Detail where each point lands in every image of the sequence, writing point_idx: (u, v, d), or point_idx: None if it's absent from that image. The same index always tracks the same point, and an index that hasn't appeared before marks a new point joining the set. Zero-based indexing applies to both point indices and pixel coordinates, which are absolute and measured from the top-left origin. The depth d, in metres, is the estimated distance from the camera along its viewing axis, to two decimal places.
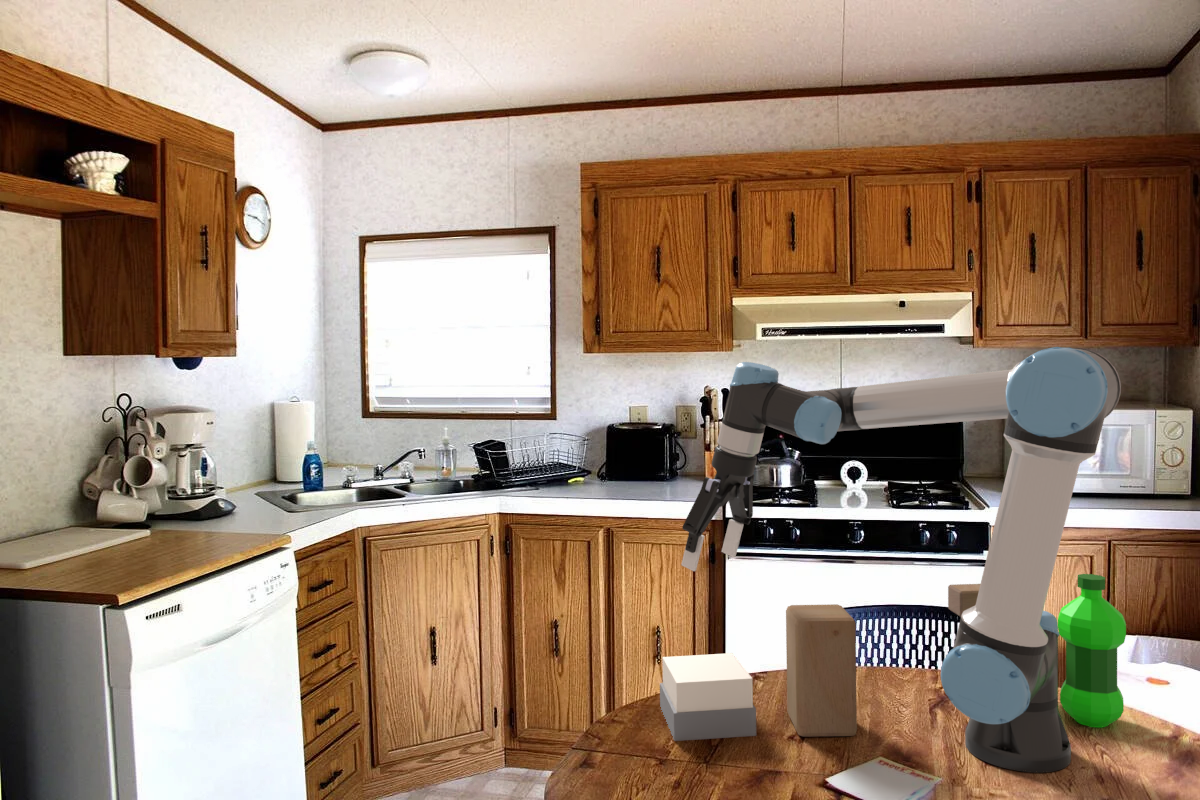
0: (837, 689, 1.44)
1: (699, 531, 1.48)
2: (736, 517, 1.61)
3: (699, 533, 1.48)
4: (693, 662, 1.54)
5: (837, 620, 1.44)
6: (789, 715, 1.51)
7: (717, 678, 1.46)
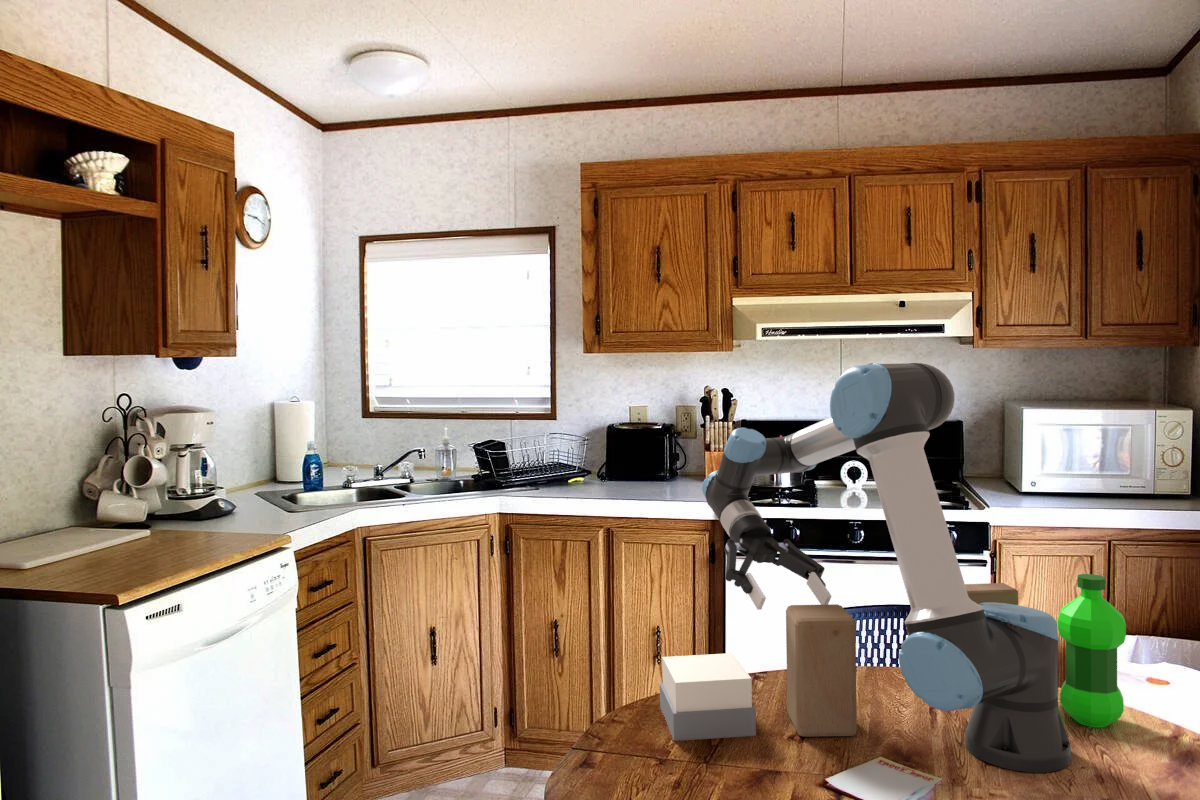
0: (837, 689, 1.44)
1: (739, 570, 1.57)
2: None
3: (740, 571, 1.57)
4: (693, 662, 1.54)
5: (837, 620, 1.44)
6: (789, 715, 1.51)
7: (716, 678, 1.46)
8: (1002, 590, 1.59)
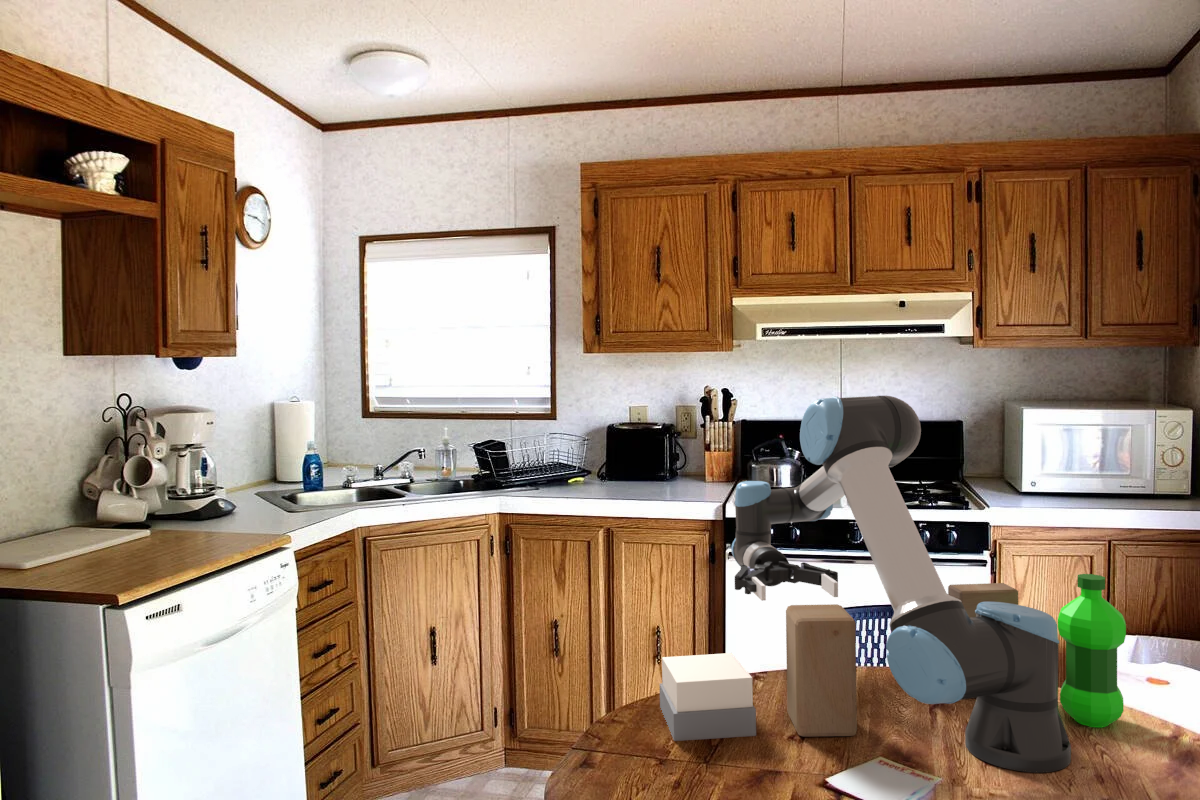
0: (837, 689, 1.44)
1: (745, 577, 1.65)
2: None
3: (745, 577, 1.65)
4: (693, 662, 1.54)
5: (837, 620, 1.44)
6: (789, 715, 1.51)
7: (717, 677, 1.46)
8: (1002, 590, 1.59)
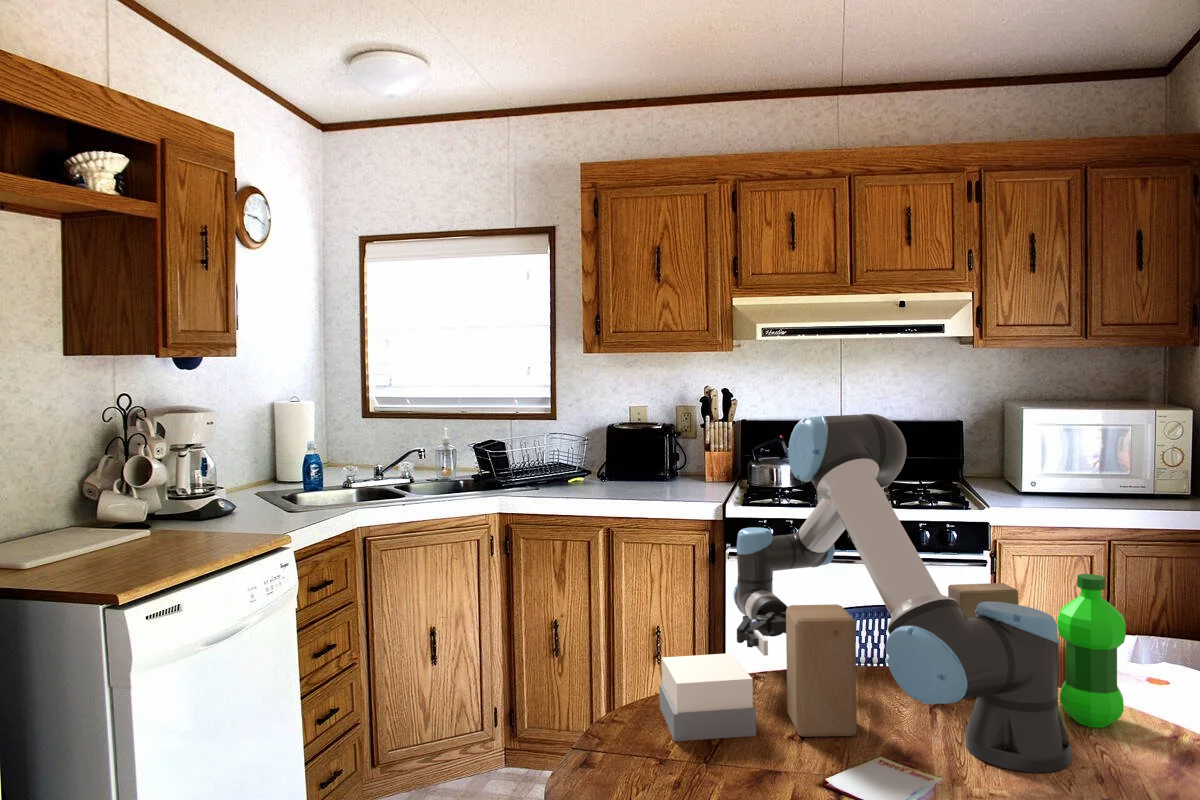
0: (837, 689, 1.44)
1: (747, 630, 1.64)
2: None
3: (747, 630, 1.64)
4: (693, 662, 1.54)
5: (837, 620, 1.44)
6: (789, 715, 1.51)
7: (717, 678, 1.46)
8: (1002, 590, 1.59)
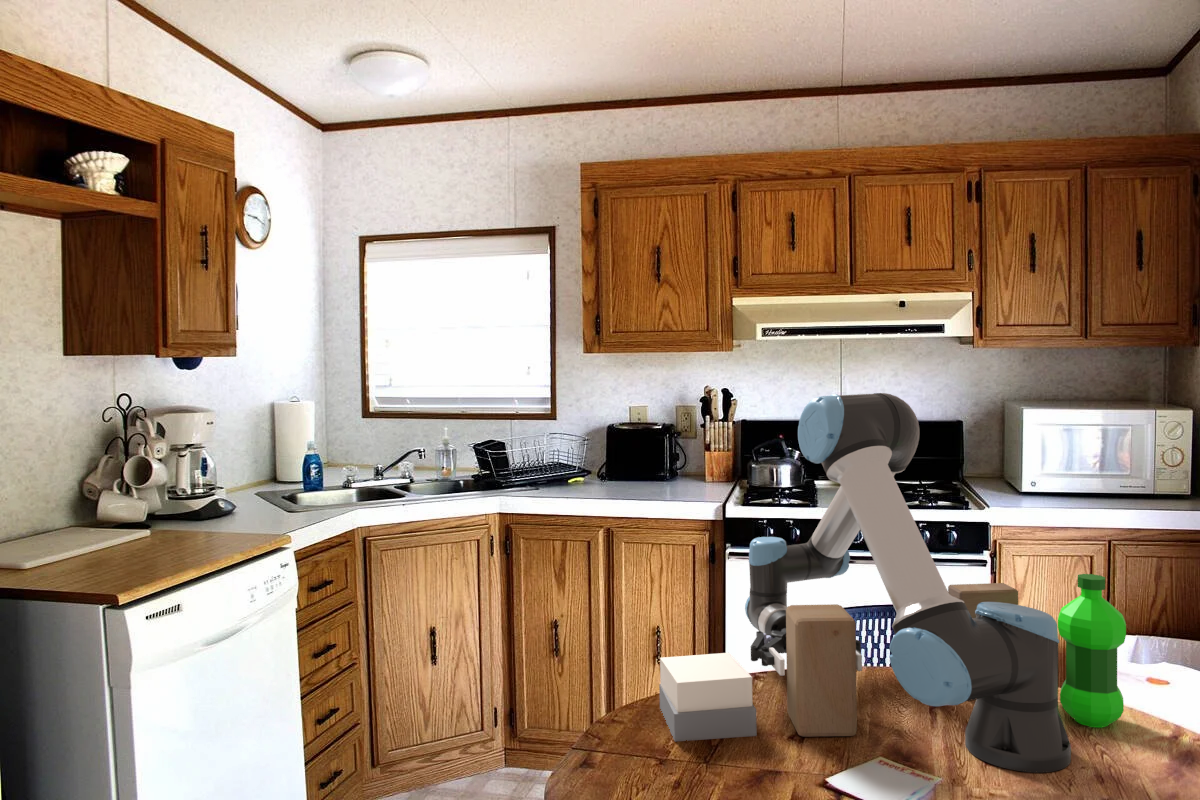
0: (837, 689, 1.44)
1: (762, 647, 1.54)
2: None
3: (762, 647, 1.54)
4: (692, 662, 1.54)
5: (837, 620, 1.44)
6: (789, 715, 1.51)
7: (717, 677, 1.47)
8: (1002, 590, 1.59)
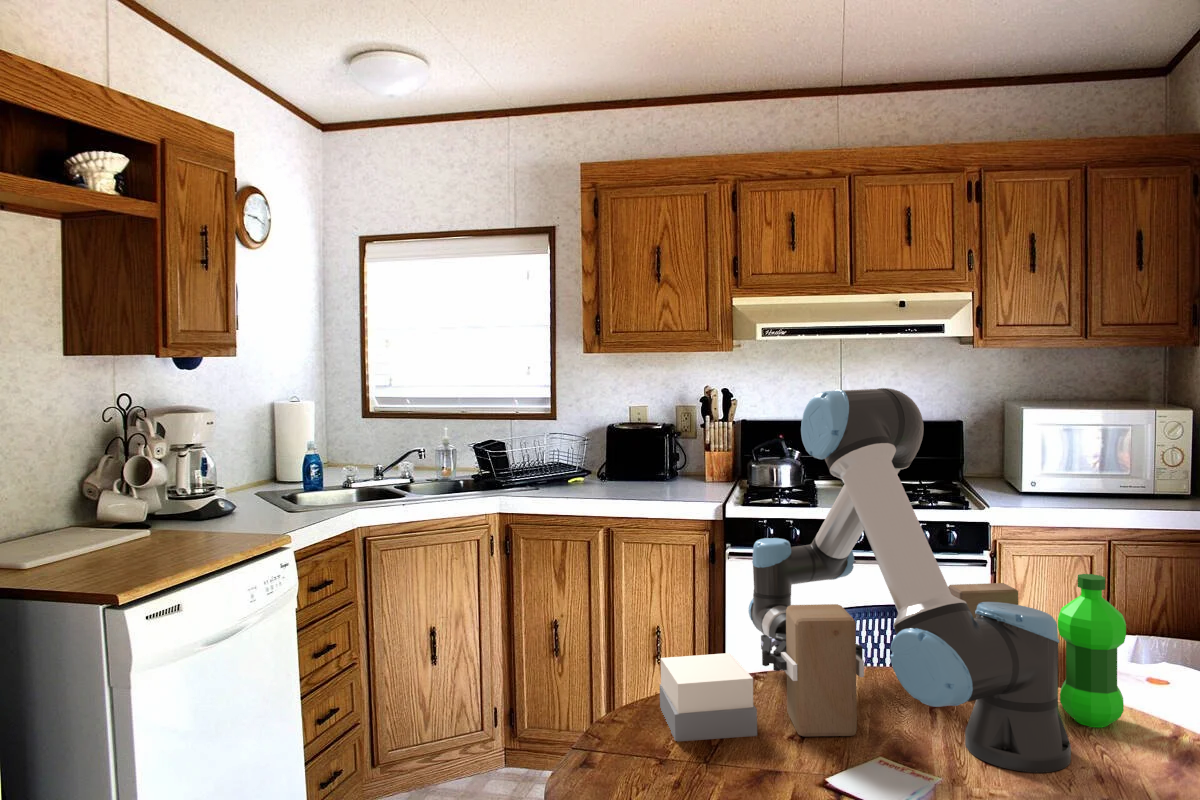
0: (837, 689, 1.44)
1: (773, 652, 1.51)
2: None
3: (774, 652, 1.51)
4: (692, 663, 1.54)
5: (837, 619, 1.44)
6: (789, 715, 1.51)
7: (718, 678, 1.46)
8: (1002, 590, 1.59)
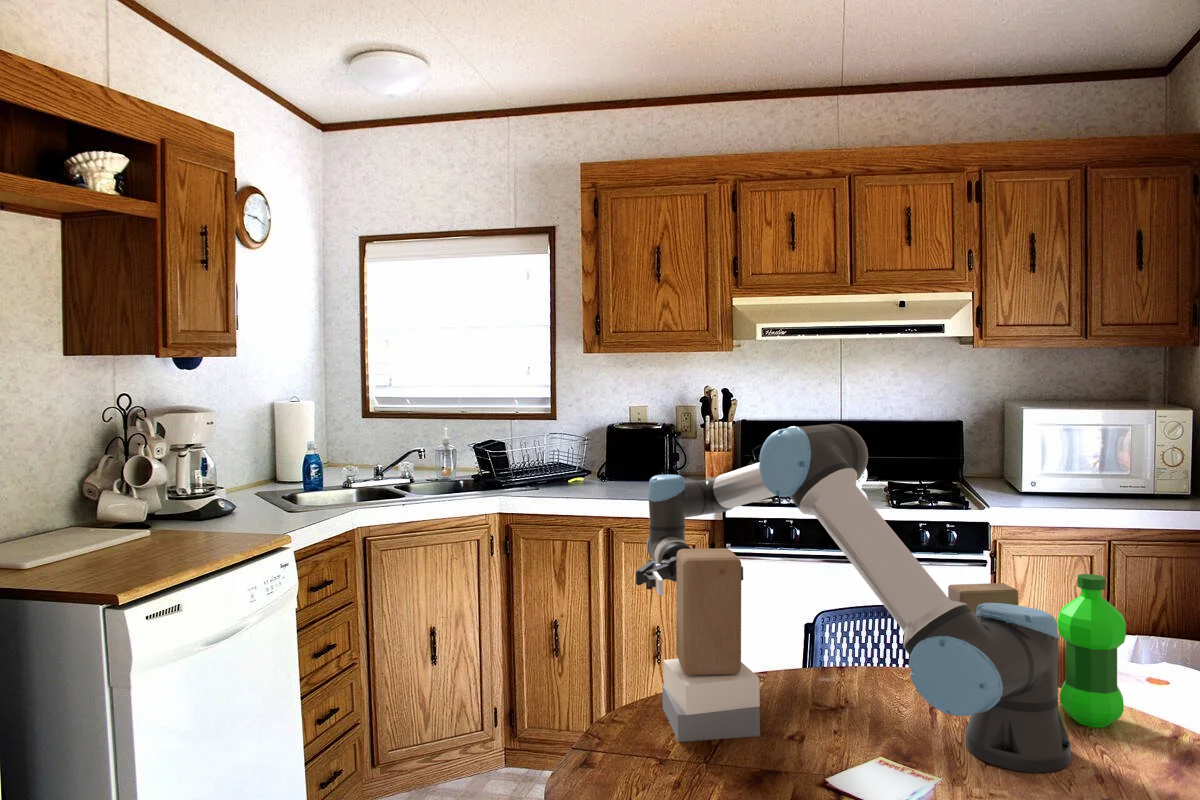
0: (722, 627, 1.47)
1: (646, 571, 1.60)
2: None
3: (646, 571, 1.59)
4: None
5: (723, 559, 1.47)
6: None
7: (725, 679, 1.46)
8: (1002, 590, 1.59)
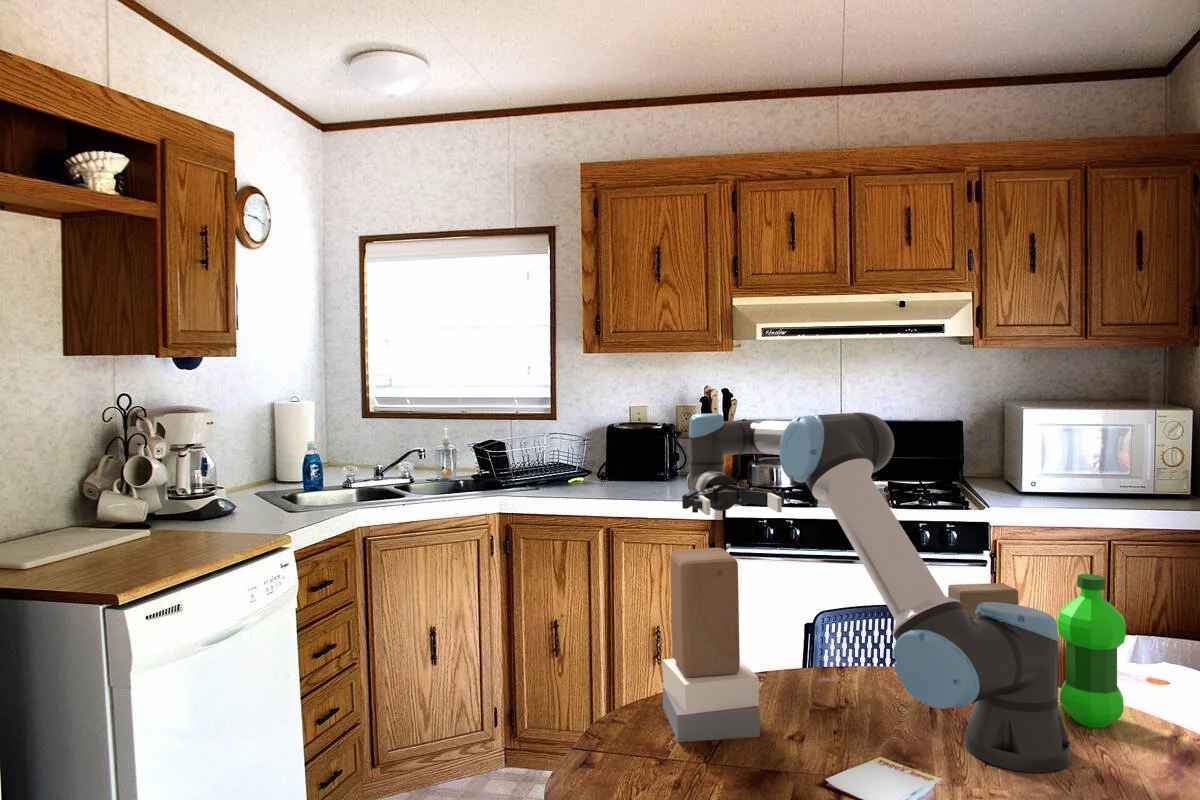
0: (721, 628, 1.46)
1: (692, 496, 1.68)
2: None
3: (693, 495, 1.68)
4: None
5: (720, 561, 1.46)
6: (674, 658, 1.53)
7: (724, 678, 1.46)
8: (1002, 590, 1.59)
